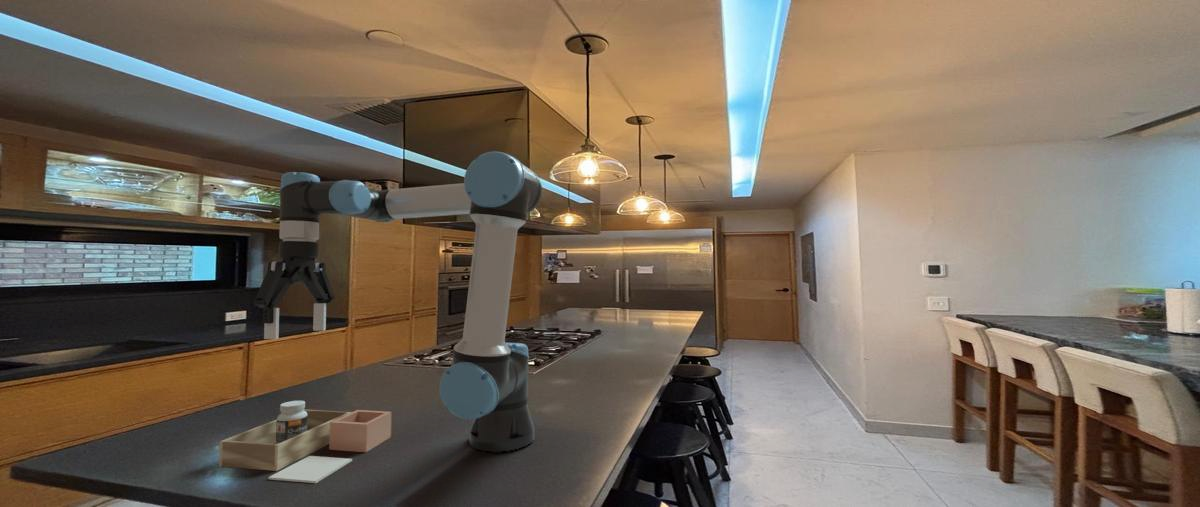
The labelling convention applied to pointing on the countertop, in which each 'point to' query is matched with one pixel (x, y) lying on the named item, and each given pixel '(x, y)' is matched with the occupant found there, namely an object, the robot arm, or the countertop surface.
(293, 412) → the pill bottle
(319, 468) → the square cream tile
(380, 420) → the pink open box
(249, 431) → the oak crate
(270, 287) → the robot arm
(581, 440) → the countertop surface
